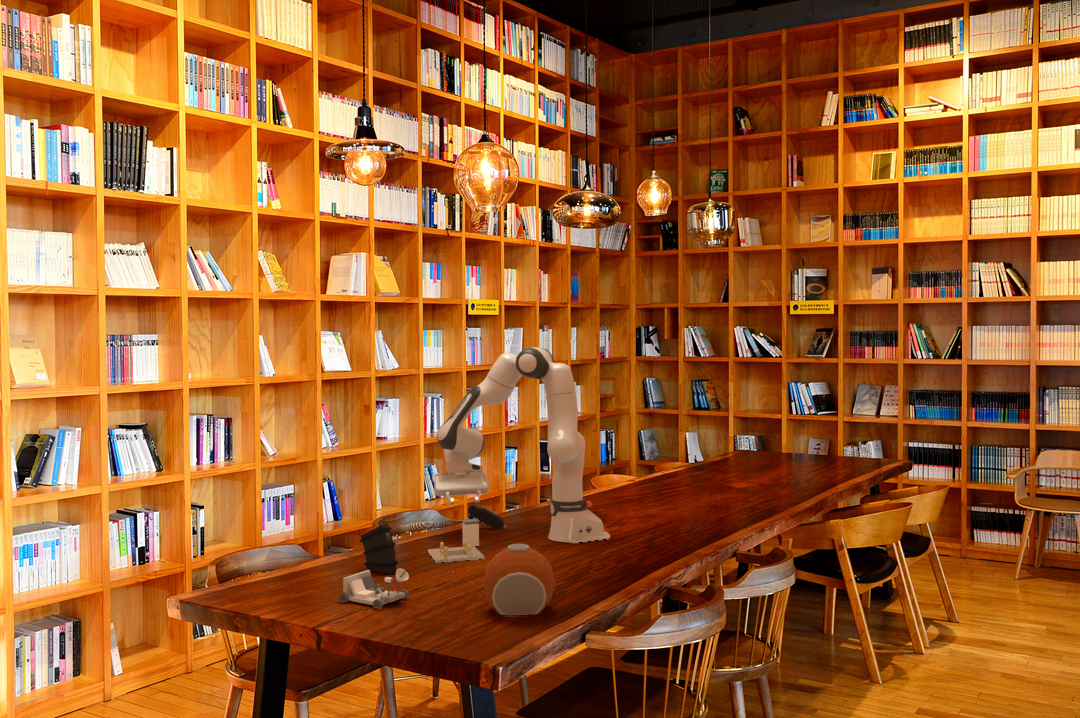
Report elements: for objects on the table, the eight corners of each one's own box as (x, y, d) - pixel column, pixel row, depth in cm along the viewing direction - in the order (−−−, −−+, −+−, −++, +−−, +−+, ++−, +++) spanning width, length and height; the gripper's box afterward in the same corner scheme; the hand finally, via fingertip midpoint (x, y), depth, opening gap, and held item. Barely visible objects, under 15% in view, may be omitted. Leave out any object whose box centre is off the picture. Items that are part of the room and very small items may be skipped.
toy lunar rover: (415, 566, 247) (388, 576, 237) (416, 601, 247) (388, 612, 238) (366, 559, 257) (338, 568, 247) (367, 593, 257) (338, 603, 247)
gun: (496, 545, 340) (508, 522, 339) (460, 524, 343) (471, 501, 342) (498, 543, 343) (510, 520, 342) (462, 522, 346) (473, 500, 345)
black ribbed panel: (396, 571, 273) (380, 525, 277) (369, 584, 280) (355, 538, 284) (404, 568, 276) (389, 522, 280) (378, 581, 283) (363, 536, 287)
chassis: (473, 548, 309) (473, 537, 309) (484, 559, 294) (484, 547, 294) (428, 552, 305) (427, 540, 305) (436, 563, 290) (436, 550, 289)
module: (476, 544, 317) (476, 518, 317) (479, 546, 313) (478, 521, 313) (462, 545, 315) (462, 519, 315) (465, 547, 312) (464, 521, 311)
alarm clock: (553, 600, 246) (553, 537, 246) (556, 619, 229) (556, 552, 229) (484, 601, 246) (483, 538, 246) (482, 621, 228) (481, 553, 228)
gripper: (432, 468, 328) (437, 499, 318) (486, 465, 334) (493, 496, 324) (430, 478, 332) (435, 509, 323) (484, 476, 338) (490, 506, 329)
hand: (464, 502), depth 324 cm, fingers open, 8 cm apart
